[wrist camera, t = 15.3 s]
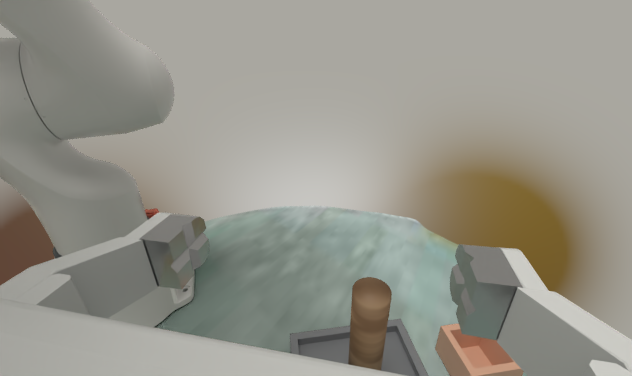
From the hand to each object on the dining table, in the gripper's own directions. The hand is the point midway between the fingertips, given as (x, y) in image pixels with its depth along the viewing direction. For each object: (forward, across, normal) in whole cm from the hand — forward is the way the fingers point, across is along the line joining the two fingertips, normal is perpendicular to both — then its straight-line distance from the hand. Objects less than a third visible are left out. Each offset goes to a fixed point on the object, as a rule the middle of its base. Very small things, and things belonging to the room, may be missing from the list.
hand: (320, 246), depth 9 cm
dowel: (+14, -2, +31) cm, 34 cm away
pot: (+20, -16, +32) cm, 41 cm away
